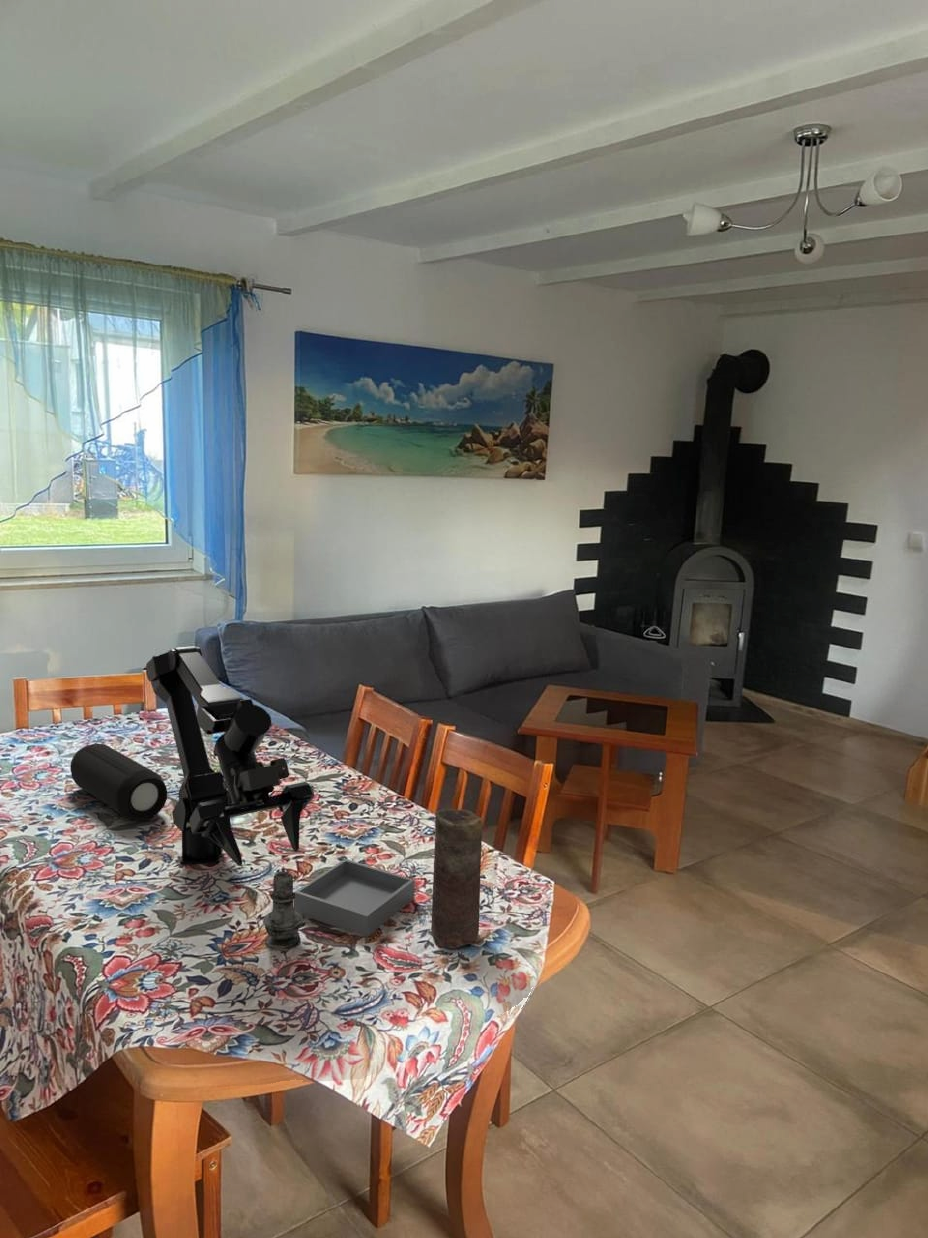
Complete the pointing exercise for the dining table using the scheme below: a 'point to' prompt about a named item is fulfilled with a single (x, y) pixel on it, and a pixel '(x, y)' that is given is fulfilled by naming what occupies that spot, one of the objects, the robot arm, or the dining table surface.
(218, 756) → the robot arm
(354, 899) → the tray
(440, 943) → the candle
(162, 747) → the dining table surface
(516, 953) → the dining table surface
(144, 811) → the portable speaker
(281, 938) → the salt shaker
